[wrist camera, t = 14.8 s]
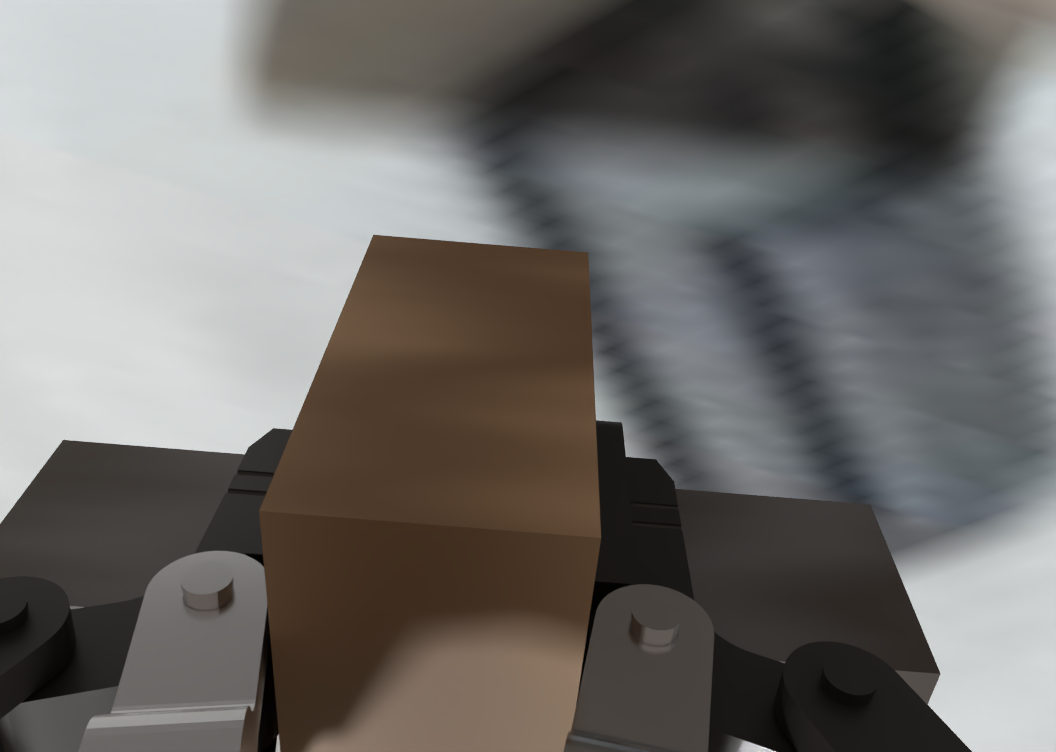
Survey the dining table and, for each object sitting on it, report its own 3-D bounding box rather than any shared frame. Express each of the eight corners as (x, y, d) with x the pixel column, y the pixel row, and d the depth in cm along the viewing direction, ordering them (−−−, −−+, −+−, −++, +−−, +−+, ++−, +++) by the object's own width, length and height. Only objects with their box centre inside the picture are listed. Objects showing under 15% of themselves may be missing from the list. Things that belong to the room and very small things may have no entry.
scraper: (943, 281, 14) (1166, 583, 9) (851, 560, 17) (980, 913, 11) (13, 205, 14) (-318, 465, 9) (75, 498, 16) (-147, 829, 11)
